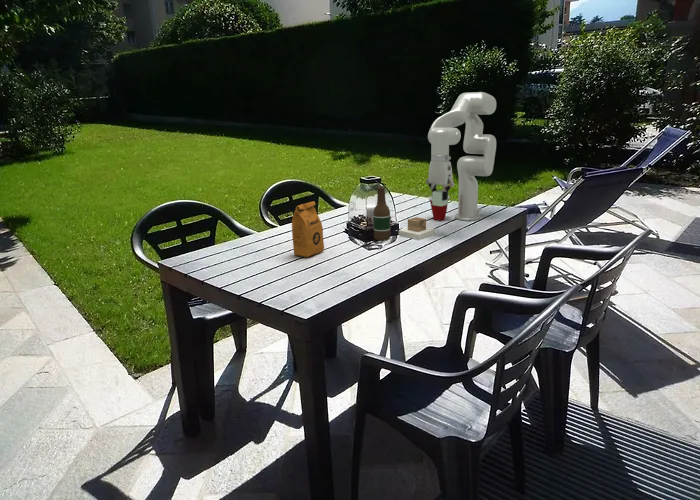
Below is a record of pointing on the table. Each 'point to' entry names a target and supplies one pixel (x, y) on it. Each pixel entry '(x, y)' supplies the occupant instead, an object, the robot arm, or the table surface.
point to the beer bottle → (381, 217)
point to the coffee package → (307, 231)
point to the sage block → (438, 198)
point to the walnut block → (416, 224)
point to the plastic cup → (438, 210)
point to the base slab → (417, 233)
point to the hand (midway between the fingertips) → (439, 198)
